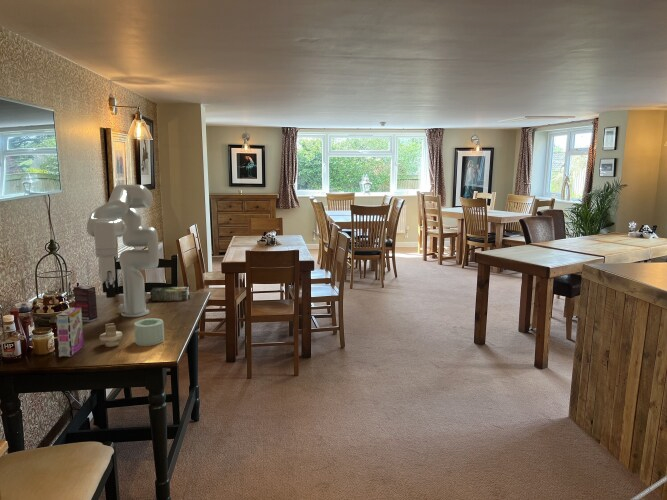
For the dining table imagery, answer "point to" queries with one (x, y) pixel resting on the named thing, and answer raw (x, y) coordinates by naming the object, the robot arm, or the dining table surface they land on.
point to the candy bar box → (69, 332)
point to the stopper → (111, 335)
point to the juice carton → (170, 293)
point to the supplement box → (86, 302)
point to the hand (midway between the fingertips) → (109, 294)
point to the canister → (149, 331)
